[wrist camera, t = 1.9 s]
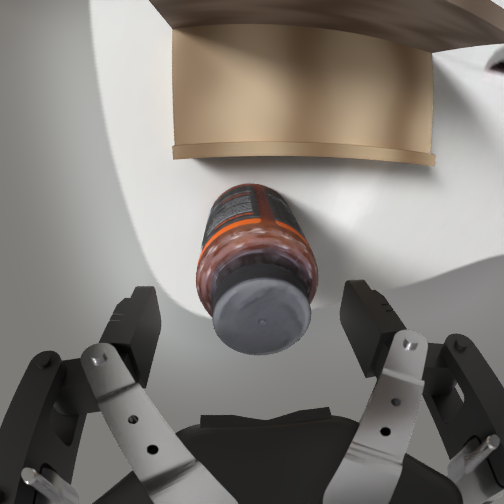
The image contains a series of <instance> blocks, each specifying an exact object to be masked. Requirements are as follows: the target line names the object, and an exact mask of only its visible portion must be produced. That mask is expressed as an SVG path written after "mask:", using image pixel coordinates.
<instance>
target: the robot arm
mask: <svg viewBox="0 0 504 504" xmlns="http://www.w3.org/2000/svg"><path fill="white" fill-rule="evenodd" d="M340 321H341V324H342V327H343V329H344V331H345V333H346V335H347V337H348V340H349V342H350V344H351V346H352V348H353V351H354V353H355V355H356V357H357V359H358V362H359V364H360V366H361V368H362V371H363V373H364V375H365V377H366V378H368V377H374V376H376V378H377V382H376V384H375V387H374V389H373V391H372V394H371V396H370V399H369V401H368V403H367V405H366V408H365V410H364V412H363V414H362V417H361V419H360V421H359V423H358V422H356V421H354V420H351V419H348V418H345V417H340V416H333V415H331V412H330V409H329V407H324V408H317V409H309V410H300V411H297V412H293V413H290V414H287V415H284V416H281V417H277V418H274V419H270V420H260V419H253V418H247V417H241V416H235V415H201V419H200V424H197V425H193V426H190V427H187V428H185V429H182V430H180V431H179V432H177V433H174V432H173V431H172V429H171V428H170V427H169V425H168V424H167V423H166V421H165V420H164V419H163V417H162V416H161V414H160V413H159V412H158V410H157V409H156V407H155V406H154V405H153V403H152V402H151V400H150V399H149V397H148V396H147V394H146V393H145V392H144V390H143V388H146V386H147V382H148V378H149V373H150V369H151V365H152V361H153V357H154V353H155V349H156V346H157V342H158V337H159V335H160V331H161V316H160V311H159V306H158V301H157V296H156V291H155V288H154V287H153V286H137V287H136V288H135V289H134V292H133V294H132V296H131V298H124V299H123V300H122V301H121V302H120V303H119V304H118V305H117V306H116V308H115V310H114V312H113V315H112V316H111V318H110V321H109V322H108V324H107V326H106V328H105V330H104V332H103V335H102V337H101V339H100V341H99V343H97V344H93V345H91V346H89V347H88V348H86V349H85V350H84V351H83V353H82V355H81V358H77V359H71V360H64V361H62V360H61V358H60V356H59V355H58V354H57V353H56V352H54V351H44V352H41V353H39V354H37V355H36V356H35V357H34V358H33V359H32V360H31V362H30V364H29V366H28V368H27V370H26V371H25V374H24V376H23V378H22V380H21V382H20V384H19V386H18V388H17V390H16V392H15V395H14V397H13V399H12V401H11V403H10V406H9V408H8V410H7V413H6V415H5V417H4V420H3V423H2V425H1V428H0V504H79V496H78V493H77V492H76V490H75V489H74V488H73V487H72V486H71V481H72V476H73V470H74V465H75V461H76V456H77V452H78V447H79V443H80V439H81V434H82V430H83V427H84V423H85V419H86V415H87V413H92V412H99V411H101V413H102V415H103V417H104V419H105V421H106V423H107V425H108V427H109V429H110V431H111V433H112V435H113V437H114V438H115V440H116V442H117V444H118V445H119V447H120V449H121V451H122V453H123V454H124V456H125V458H126V459H127V461H128V463H129V464H130V466H131V468H132V469H133V470H132V471H131V472H130V473H129V474H128V475H127V476H126V477H124V478H123V479H122V480H121V481H120V482H118V483H117V484H116V485H115V486H113V487H112V488H111V489H110V490H109V491H108V492H106V493H105V494H104V495H103V496H101V497H100V498H99V499H98V500H96V501H95V502H94V503H92V504H490V503H492V502H493V501H495V500H497V499H498V498H500V497H501V496H502V495H504V388H503V386H502V384H501V383H500V381H499V380H498V378H497V377H496V375H495V374H494V372H493V371H492V369H491V368H490V366H489V365H488V363H487V362H486V360H485V359H484V357H483V356H482V354H481V353H480V352H479V350H478V349H477V347H476V346H475V345H474V343H473V342H472V341H471V340H470V339H469V338H468V337H466V336H464V335H461V334H451V335H449V336H448V337H447V338H446V340H445V343H444V344H435V343H428V342H427V340H426V338H425V337H424V336H423V335H422V334H420V333H418V332H416V331H413V330H407V329H406V327H405V326H404V324H403V323H402V321H401V320H400V318H399V317H398V315H397V314H396V313H395V311H393V308H392V307H391V305H389V303H388V301H387V300H386V299H385V297H384V296H383V295H381V294H380V293H379V292H377V291H376V290H371V289H370V287H369V286H368V284H367V283H366V282H365V280H348V281H346V283H345V286H344V292H343V297H342V303H341V308H340ZM457 383H458V385H459V386H460V388H461V390H462V392H463V394H464V403H463V401H462V400H461V398H460V396H459V394H458V392H457V390H456V388H455V386H456V384H457ZM422 395H423V397H424V399H425V402H426V404H427V406H428V408H429V410H430V413H431V415H432V417H433V420H434V422H435V424H436V427H437V429H438V431H439V434H440V436H441V438H442V441H443V443H444V446H445V448H446V451H447V454H448V456H449V459H450V462H449V464H448V469H447V470H448V475H447V477H446V476H444V475H443V474H440V473H439V472H437V471H435V470H434V469H432V468H430V467H428V466H427V465H425V464H424V463H422V462H420V461H418V460H417V459H415V458H414V457H412V456H410V455H409V454H407V453H405V452H406V449H407V446H408V443H409V440H410V437H411V433H412V430H413V427H414V423H415V420H416V416H417V413H418V409H419V405H420V401H421V397H422Z"/></svg>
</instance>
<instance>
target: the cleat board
mask: <svg viewBox="0 0 504 504" xmlns="http://www.w3.org/2000/svg"><path fill="white" fill-rule="evenodd" d="M149 1H150V2H151V3H152V5H153V6H154V7H155V8H156V9H157V11H158V12H159V13H160V14H161V15H162V17H163V18H164V19H165V20H166V22H167V23H168V24H169V25H170V26H171V28H172V29H173V31H172V86H173V119H174V141H175V145H174V146H172V149H173V160H174V159H189V158H206V157H229V156H316V157H339V158H356V159H370V160H382V161H393V162H402V163H411V164H420V165H428V166H435V156H436V155H434V154H430V149H431V135H432V116H433V66H432V53H435V52H440V51H446V50H452V49H458V48H465V47H473V46H481V45H491V44H502V43H504V9H503V8H501V7H500V6H498V5H497V4H495V3H494V2H492V1H491V0H149Z"/></svg>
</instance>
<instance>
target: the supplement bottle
mask: <svg viewBox="0 0 504 504" xmlns="http://www.w3.org/2000/svg"><path fill="white" fill-rule="evenodd" d="M317 286H318V269H317V265H316V261H315V258H314V255H313V253H312V251H311V249H310V247H309V244H308V242H307V241H306V239H305V237H304V235H303V233H302V231H301V229H300V227H299V225H298V223H297V221H296V220H295V218H294V216H293V214H292V212H291V210H290V209H289V207H288V205H287V203H286V202H285V201H284V200H283V198H282V197H281V196H280V195H279V194H278V193H277V192H275V191H274V190H272V189H270V188H268V187H266V186H263V185H259V184H242V185H238V186H235V187H232V188H230V189H229V190H227V191H225V192H224V193H223V194H222V195H220V196H219V197H218V199H217V200H216V201H215V203H214V205H213V207H212V208H211V211H210V213H209V217H208V221H207V225H206V229H205V233H204V238H203V242H202V247H201V251H200V256H199V261H198V266H197V272H196V288H197V292H198V295H199V298H200V301H201V302H202V304H203V306H204V308H205V309H206V311H207V312H208V313H209V314H210V316H211V317H213V325H214V329H215V331H216V333H217V335H218V337H219V338H220V339H221V340H222V341H223V342H224V343H225V344H226V345H227V346H228V347H230V348H232V349H234V350H236V351H238V352H241V353H245V354H249V355H268V354H273V353H277V352H280V351H283V350H285V349H287V348H288V347H290V346H291V345H293V344H294V343H295V342H297V341H299V340H300V338H301V337H302V336H303V335H304V333H305V332H306V330H307V328H308V325H309V323H310V320H311V308H310V304H311V302H312V300H313V298H314V295H315V293H316V289H317Z"/></svg>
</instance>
